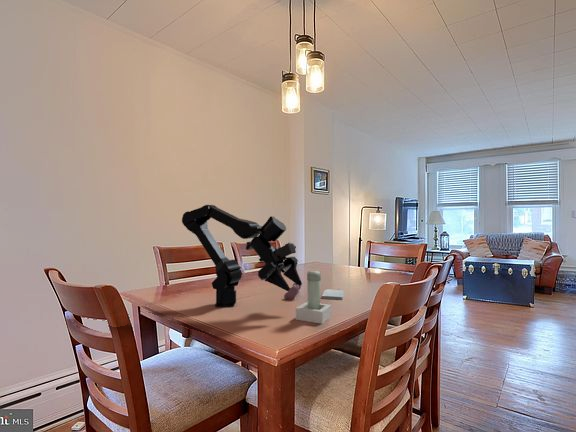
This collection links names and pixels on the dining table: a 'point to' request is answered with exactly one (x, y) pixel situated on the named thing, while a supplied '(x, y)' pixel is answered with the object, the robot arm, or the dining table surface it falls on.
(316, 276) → the toggle switch lever
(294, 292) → the video game controller
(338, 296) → the hard drive
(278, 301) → the dining table surface
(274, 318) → the dining table surface
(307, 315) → the housing
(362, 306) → the dining table surface
